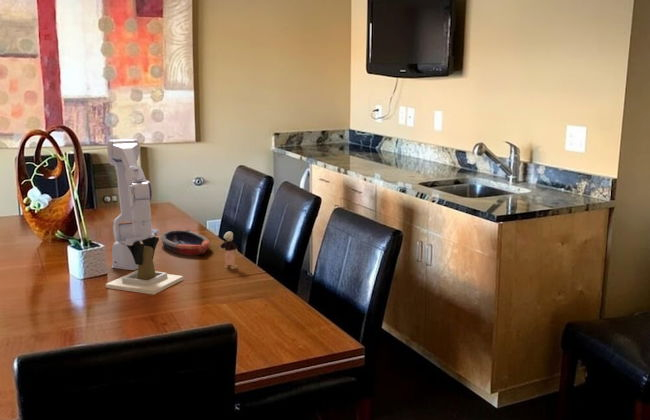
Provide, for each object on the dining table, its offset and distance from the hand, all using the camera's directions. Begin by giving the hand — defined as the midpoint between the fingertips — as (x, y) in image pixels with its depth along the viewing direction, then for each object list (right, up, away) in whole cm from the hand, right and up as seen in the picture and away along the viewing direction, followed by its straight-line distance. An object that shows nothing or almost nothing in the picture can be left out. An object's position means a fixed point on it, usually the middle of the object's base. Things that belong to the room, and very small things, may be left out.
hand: (144, 262), depth 215 cm
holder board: (0, -7, +1) cm, 7 cm away
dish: (+4, +1, +44) cm, 44 cm away
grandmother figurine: (+24, -3, +19) cm, 31 cm away
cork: (0, -6, +1) cm, 6 cm away
